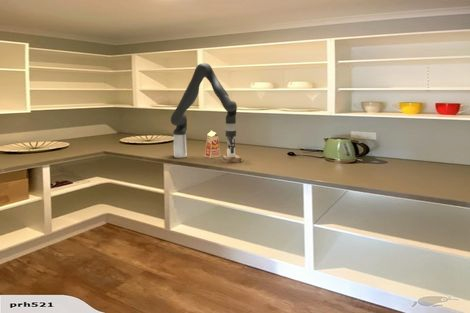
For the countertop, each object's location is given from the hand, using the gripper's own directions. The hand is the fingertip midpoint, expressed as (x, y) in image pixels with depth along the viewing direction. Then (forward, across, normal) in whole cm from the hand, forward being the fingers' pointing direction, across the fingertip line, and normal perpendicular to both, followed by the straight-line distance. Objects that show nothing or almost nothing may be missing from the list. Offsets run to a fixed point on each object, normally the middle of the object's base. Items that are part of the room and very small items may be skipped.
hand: (231, 152), depth 272 cm
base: (+6, 0, 0) cm, 6 cm away
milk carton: (+6, -19, -10) cm, 22 cm away
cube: (+3, 0, 0) cm, 3 cm away
